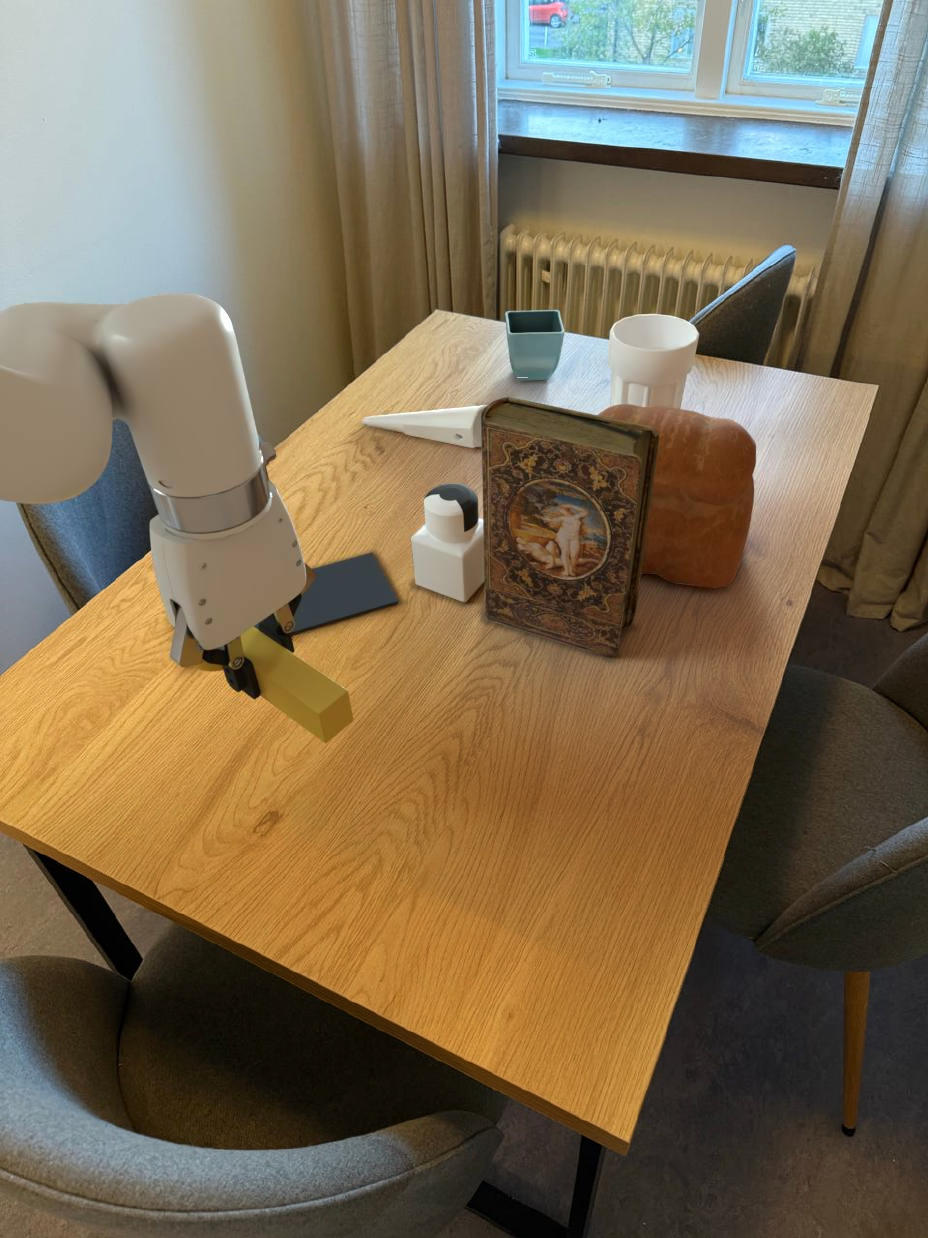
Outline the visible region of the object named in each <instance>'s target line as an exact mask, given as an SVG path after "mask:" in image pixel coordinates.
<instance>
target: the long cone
mask: <svg viewBox="0 0 928 1238" xmlns="http://www.w3.org/2000/svg"><path fill="white" fill-rule="evenodd" d="M487 406H488V405H487V404H482V405H471V406H470V405H469V406H462V407H453V408H451V407H450V408H441V409H431V410H430V409H429V410H422V411H421V410H420V411H412V412H411V411H409V412H400V413H391V414H380V415H372V416H366V417H363V418H362V419H361V423H362V424H363V425H365V426H368V427H372V428H377V429H382V430H386V431H387V430H388V431H392V432H398V433H403V434H404V435H406V436H410V437H417V438H420V439H425V440H431V441H435V442H441V443H445V444H451V445H456V446H460V447H464V448H470V449H475V448H482V438H481V414H482V411H483V410H484V409H485V407H487Z"/></svg>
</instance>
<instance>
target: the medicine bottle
mask: <svg viewBox="0 0 928 1238" xmlns="http://www.w3.org/2000/svg"><path fill="white" fill-rule="evenodd" d="M423 510H424V521H425V523H424V524H423V525H422V526H421V527H420V528H419V529H418V530H417V531H416V532H415V533H414V534H413V535H412V536H411V538H410V545H411V556H412V565H413V576H414V583H415V585H416V586H418V587H421V588H424V589H427V590H428V591H432V592H435V593H437V594H440V595H442V596H444V597H447V598H450V599H453V600H456V601H458V602H462V603H466V602H468V601H469V600H470V598H472V596H473V595H474V594H475V593H476V592H477V591H478V590H479V588H480V587H481V586H482V585H483V583H485V575H484V530H483V518H480V515H479V514H480V513H479V512H480V511H479V496H478V494H477V493H476V491H474V489H472V488H471V487H469V486H467V485H465V484H461V483H454V482H453V483H452V482H451V483H443V484H439V485H437V486H435V487H433V488H432V489H430V490H429V491H428V492H427V493H426V494H425V496H424V497H423Z"/></svg>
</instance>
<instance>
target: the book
mask: <svg viewBox="0 0 928 1238" xmlns="http://www.w3.org/2000/svg"><path fill="white" fill-rule="evenodd" d="M486 406H487V407H485V409H484V410H483V411H482V414H481V438H482V446H481V476H482V477H481V479H482V480H481V481H482V483H481V484H482V519H483V530H484V575H485V581H484V612H485V613H484V614H485V617H486V619H487V621H489V622H492V623H496V624H499V625H501V626H505V627H508V628H512V629H515V630H517V631H521V632H525V633H528V634H531V635H534V636H537V637H540V638H544V639H547V640H551V641H553V642H557V643H560V644H564V645H566V646H568V647H569V646H570V647H573V648H577V649H579V650H582V651H586V652H589V653H592V654H593V653H594V654H597V655H600V656H604V657H607V658H615V657H616V656H617V654H618V653H619V650H620V647H621V642H622V635H623V630H624V629H626V628H629V627H631V626H632V624H633V623H634V620H635V617H636V612H637V605H638V598H639V592H640V591H639V590H640V583H641V576H642V574H641V570H642V563H643V555H644V548H645V541H646V533H647V526H648V519H649V511H650V504H651V497H652V489H653V482H654V475H655V468H656V460H657V453H658V445H659V432H658V430H657V429H656V428H655V427H652V426H647V425H642V424H637V423H632V422H627V421H622V420H617V419H613V418H608V417H603V416H598V414H592V413H588V412H583V411H578V410H573V409H568V408H563V407H560V406H554V405H549V404H544V403H540V402H535V401H530V400H525V399H520V398H515V397H510V396H507V397H501V398H498V399H495V400H493V401H492V402H490V403H489V404H487V405H486Z"/></svg>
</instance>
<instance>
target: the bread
mask: <svg viewBox="0 0 928 1238" xmlns="http://www.w3.org/2000/svg"><path fill="white" fill-rule="evenodd" d="M597 415H598V416H603V417H608V418H613V419H617V420H622V421H627V422H632V423H637V424H642V425H647V426H652V427H655V428H656V429H657V430H658V432H659V445H658V453H657V460H656V468H655V475H654V482H653V489H652V497H651V504H650V511H649V519H648V526H647V533H646V541H645V548H644V555H643V563H642V570H641V575H657V576H658V577H660V578H662V579H664V580H665V581H667V582H669V583H670V584H671V583H672V584H679V585H686V586H693V587H701V588H709V589H716V588H721V587H725V586H729V585H730V584H731V583H732V582H733V581H734V579H735V577H736V574H737V572H738V569H739V567H740V564H741V561H742V559H743V555H744V552H745V547H746V543H747V539H748V535H749V530H750V527H751V522H752V516H753V510H754V509H753V508H754V502H755V501H754V500H755V480H754V476H753V475H754V472H755V469H756V466H757V444H756V441H755V440H754V438H753V436H752V435H751V433H749V432H748V430H747V429H746V428H745V427H743V426H742V424H740V423H738V422H736V421H735V420H733V419H730V418H723V417H714V416H709V415H706V414H704V413H700V412H697V411H695V410H689V409H683V408H680V409H677V408H671V407H656V406H654V407H640V406H635V405H630V404H620V405H615V406H612V407H610V406H608V407H607V408H605V409H604V410H602V411H600V412H599V413H598V414H597Z"/></svg>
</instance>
